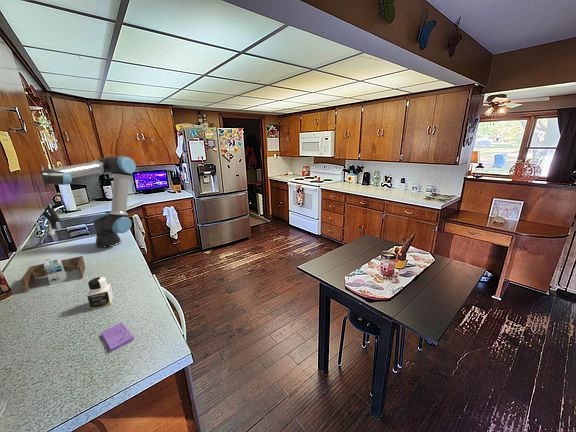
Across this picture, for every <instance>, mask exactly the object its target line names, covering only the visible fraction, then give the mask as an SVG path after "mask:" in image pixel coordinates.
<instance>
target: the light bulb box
mask: <svg viewBox="0 0 576 432" xmlns="http://www.w3.org/2000/svg"><path fill="white" fill-rule="evenodd" d="M61 260H62V259H61V256H57V257H54V258H53V257H52V258H48V259H43V264H44V267H45V270H46V273H47V276H46V277H47V279H48V283H49V285H50V286H51V285H54V284H58V283H61V282H65V281H67V280H68V278H67V274H66V272H65V270H64V267H63V264H62V261H61Z"/></svg>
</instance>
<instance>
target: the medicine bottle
mask: <svg viewBox="0 0 576 432" xmlns="http://www.w3.org/2000/svg"><path fill="white" fill-rule="evenodd" d="M87 285H88V288H89V291H88V293H87V294H86V295H87V301H88V304H89V305H88V306H89V308H90V310H95V309H100V308H103V307H106V306H110V305H112V301H113V298H114V294H113V289H112V285H111V283H107V279H106V277H104V276H98V277H95V278H92V279H90V280H89V281H88V283H87Z"/></svg>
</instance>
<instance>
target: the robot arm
mask: <svg viewBox="0 0 576 432" xmlns="http://www.w3.org/2000/svg"><path fill="white" fill-rule="evenodd" d="M136 168H137V165H136V163H135V161H134V160H133V159H132V158H130V157H128V156H121V155H119V156H107V157H103V158H98V159H94V160H93V161H90V162H85V163H79V164H72V165H67V166H66V165H65V166H61V167H60V166H59V167H54V168H47V169H44V166H42V174H43V180H44V183H45V184H44V185H58V186H59V185H60V186H61V185H62V186H65V185H67V186H69V185H71V183H72V181H73V179H74V178H80V177H83V176H84V177H85V176H88V175H92V174H100V175H101V174H106V173H107V174H111V176H112V177H113V182H112V183H113V185H112V186H113V187H112V197H111V210H110V211H109V212H105V213H104V212H103V213H101V214H96V215H94V216H92V223H93V226H94V231H95V235H96V238H95V242H94V244H95V247H96V246H97V247H96V248H98V247H104V246H110V245H114V244H116V243H119V242H120V241H121V242H122V240H121V237H120V236H119V234H125V233H127V232H128V231H129V230H131V227H132V219H130V218H129V213H128V212H127V204H128V192H129V179H130V178H132V174H133V173H135V171H136ZM47 205H48V206H47V207H45V211H44V213H43V214H41V215H42V216H43V217H44V218H45V219H46V220H47V221H48V234H49V235H48V236H53V235H55V231H56V230H55V229H57V223H59V222H61V219H60V217H59V216H58V213H56V211H55V209H54V207H53V204H52V203H51V204H50V203H49V204H48V203H47ZM119 244H120V243H119Z"/></svg>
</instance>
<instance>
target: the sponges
mask: <svg viewBox="0 0 576 432" xmlns="http://www.w3.org/2000/svg"><path fill="white" fill-rule="evenodd" d="M100 334H101V336H102V338H103V340H104V341H105V344H106V346H108V348H109V350H110V352H112V353H113V352H114V351H116V350H118V349H120V348H121V347H124V346H126V345H127V344H129V343H131V342H132V341H134V340H135V339H134V338H135V337H134V336H133V334H132V333H131V332H130V330H129V329H128V328H127V327H126V325H125V324H124V322H123V321H121V322H119V323H118V324H115V325H113V326H112V327H110V328H107V329H105V330H103V331H101V332H100Z"/></svg>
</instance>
